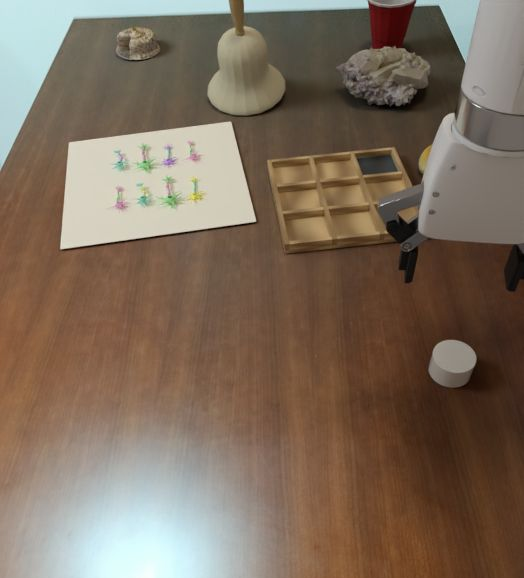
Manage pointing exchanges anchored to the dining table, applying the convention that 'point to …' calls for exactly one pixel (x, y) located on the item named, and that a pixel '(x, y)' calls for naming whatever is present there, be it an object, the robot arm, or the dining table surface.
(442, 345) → the white cylinder puck
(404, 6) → the plastic cup
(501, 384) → the dining table surface
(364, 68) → the geode
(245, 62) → the handbell
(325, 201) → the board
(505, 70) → the robot arm
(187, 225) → the printed paper
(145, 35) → the cake
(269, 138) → the dining table surface
